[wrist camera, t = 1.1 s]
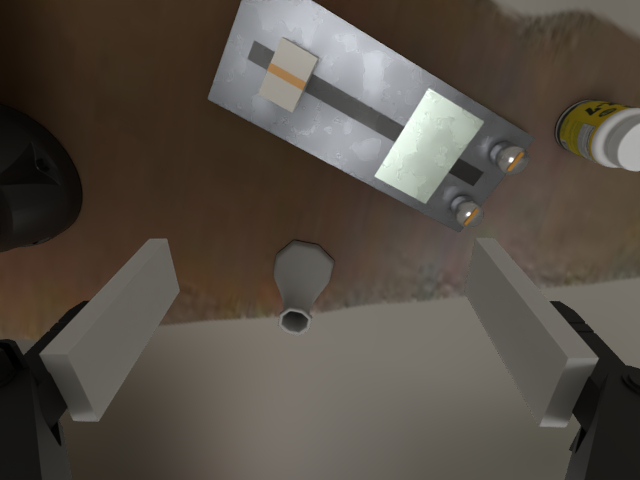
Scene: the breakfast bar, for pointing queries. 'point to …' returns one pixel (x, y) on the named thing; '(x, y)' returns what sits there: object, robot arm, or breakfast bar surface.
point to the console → (371, 112)
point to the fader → (288, 74)
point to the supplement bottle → (602, 133)
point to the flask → (300, 283)
